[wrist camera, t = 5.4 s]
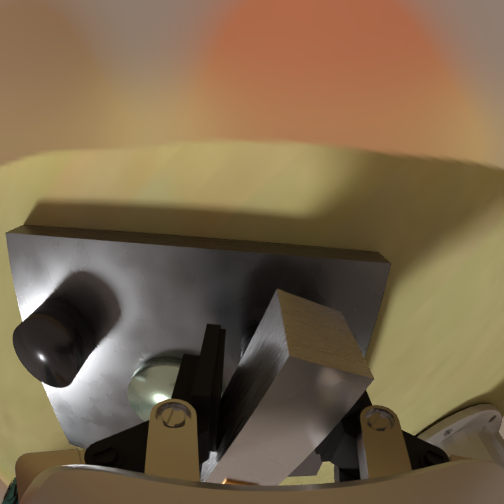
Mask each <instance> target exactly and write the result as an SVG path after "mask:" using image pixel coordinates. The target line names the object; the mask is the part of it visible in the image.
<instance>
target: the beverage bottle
mask: <svg viewBox="0 0 504 504" xmlns="http://www.w3.org/2000/svg"><path fill="white" fill-rule="evenodd" d="M13 479H14V480H13V482H12V481H11V482H12V483H11V484H10V485H11V486H10V485H9V487H10V488H8V490H7V492H6V494H5V497H4V500H3V502H2V504H19V499H18V492H17V483H16V477H15V478H13Z"/></svg>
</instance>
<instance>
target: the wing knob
mask: <svg viewBox="0 0 504 504" xmlns="http://www.w3.org/2000/svg"><path fill="white" fill-rule="evenodd" d="M373 380H374V377H373V375H372V373H371V371H370V369H369V366H368V364H367V362H366V360H365V358H364V356H363V354H362V352H361V350H360V348H359V346H358V344H357V342H356V340H355V338H354V336H353V334H352V332H351V330H350V328H349V327H348V325H347V323H346V321H345V319H344V317H343V315H342V313H341V312H340V311H337V310H334V309H331V308H329V307H326V306H323V305H320V304H317V303H315V302H312V301H309V300H306V299H304V298H301V297H298V296H296V295H293V294H290V293H287V292H285V291H282V290H279V289H276V291H275V293H274V296H273V298H272V300H271V302H270V304H269V306H268V308H267V310H266V312H265V314H264V316H263V318H262V320H261V322H260V323H257V324H254V325H252V326H250V327H249V328H248V329H247V330H246V331H245V332H244V333H243V335H242V339H241V361H240V363H239V365H238V367H237V368H236V370H235V372H234V374H233V376H232V378H231V380H230V382H229V384H228V386H227V387H226V389H225V391H224V393H223V395H222V397H221V403H220V414H219V424H218V435H217V445H216V452H210V457H209V459H208V460H207V461H205V462H204V463H202V470H201V478H200V482H209V483H220V484H234V485H260V486H277V485H279V484H280V483H281V482H282V481H283V480H284V479H285V478H286V477H287V476H288V475H289V474H290V473H291V472H292V471H293V470H294V469H295V468H297V467H298V466H299V465H300V464H301V463H302V462H303V461H304V460H305V459H306V458H307V456H308V455H309V454H310V453H311V452H312V451H313V450H314V449H315V448H316V447H317V446H318V445H319V444H320V443H321V442H322V441H323V440H324V439H325V437H326V436H327V435H328V434H329V433H330V432H331V431H332V430H333V429H334V427H335V426H336V425H337V424H338V423H339V422H340V421H341V419H342V418H343V417H344V416H345V415H346V414H347V412H348V411H349V410H350V409H351V408H352V406H353V405H354V404H355V403H356V401H357V400H358V399H359V398H360V396H361V395H362V394H363V393H364V391H365V390H366V389H367V387H368V386H369V385H370V384H371V382H372V381H373Z"/></svg>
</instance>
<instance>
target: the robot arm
mask: <svg viewBox="0 0 504 504" xmlns="http://www.w3.org/2000/svg"><path fill="white" fill-rule="evenodd" d="M225 337H226V329H221V325H217V324H207V325H206V330H205V334H204V339H203V343H202V348H201V352H200V355H192V354H184V355H183V357H182V361H181V364H180V368H179V371H178V375H177V379H176V382H175V386H174V389H173V393H172V397H171V399H166V400H163V401H160V402H158V403H157V404H155V405H154V407H153V408H152V410H151V413H150V420H148V421H145V422H143V423H141V424H138V425H136V426H134V427H131V428H129V429H127V430H124V431H122V432H119V433H117V434H114V435H112V436H109V437H107V438H104V439H102V440H99V441H96V442H95V443H93V444H91V445H90V446H89V447H88V448H87V449H86V450H85V451H78V449H68V450H59V451H49V452H35V453H27V454H23V455H22V456H20V457H19V458H18V460H17V461H16V465H15V472H16V483H17V492H18V499H19V504H504V439H503V438H502V436H501V435H500V434H499V432H498V431H499V429H500V426H501V423H502V416H501V414H500V412H499V411H498V409H497V408H496V407H495V406H494V405H491V404H480V405H476V406H472V407H469V408H466V409H464V410H461V411H459V412H457V413H455V414H453V415H451V416H449V417H447V418H445V419H444V420H442V421H440V422H438V423H437V424H435V425H433V426H432V427H430V428H429V429H427V430H426V431H424V432H423V433H421V434H420V435H419V436H417V437H415V436H413V435H411V434H409V433H407V432H405V431H403V430H401V426H400V423H399V419H398V417H397V415H396V414H395V413H394V412H393V411H392V410H390V409H389V408H387V407H384V406H379V405H373V406H372V403H371V401H370V399H369V396H368V394H367V392H366V390H365V391H364V393H363V394H362V395H361V396H360V398H359V399H358V400H357V401H356V403H355V404H354V405H353V406H352V408H351V409H350V410H349V411H348V412H347V414H346V415H345V416H344V417H343V418H342V419H341V421H340V422H339V423H338V424H337V425H336V426H335V427H334V429H333V430H332V431H331V432H330V433H329V434H328V435H327V436H326V437H325V439H324V440H323V441H322V442H321V443H320V444H319V445H318V446H317V447H316V448H315V453H316V454H320V458H321V462H325V461H330V462H331V463H333V464H334V465H335V466H334V480H335V483H325V484H311V485H286V486H260V485H234V484H220V483H209V482H200V475H199V465H200V464H202V463H204V462H205V461H207V460H208V459H209V457H210V452H216V445H217V435H218V424H219V414H220V403H221V393H222V382H223V367H224V352H225Z"/></svg>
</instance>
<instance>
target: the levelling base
mask: <svg viewBox="0 0 504 504" xmlns="http://www.w3.org/2000/svg"><path fill="white" fill-rule="evenodd" d="M6 239H7V247H8V254H9V260H10V266H11V272H12V277H13V282H14V287H15V292H16V297H17V301H18V305H19V309H20V313H21V317H22V321H23V322H22V323H21V324H20V325H19V326H17V327H16V329H15V330H14V333H13V345H14V349H15V351H16V354H17V356H18V358H19V360H20V361H21V363H22V364H23V366H24V367H25V368H26V369H27V370H28V371H29V372H30V373H31V374H32V375H33V376H34V377H35V378H36V379H38V380H39V381H41V382H42V383H43V385H44V388H45V390H46V393H47V395H48V398H49V400H50V403H51V405H52V407H53V410H54V412H55V414H56V416H57V418H58V421H59V423H60V425H61V427H62V429H63V431H64V433H65V435H66V437H67V439H68V441H69V443H70V444H72V445H75V446H78V447H81V448H84V449H87V448H88V447H89V446H90V445H91V444H93V443H95V442H96V441H99V440H102V439H104V438H107V437H109V436H112V435H114V434H117V433H119V432H122V431H124V430H127V429H129V428H131V427H134V426H136V425H138V424H141V423H143V422H145V421H148V420H150V413H151V410H152V408H153V407H154V405H155V404H157V403H158V402H160V401H163V400H166V399H171V397H172V393H173V389H174V386H175V382H176V379H177V375H178V371H179V368H180V364H181V361H182V357H183V355H184V354H192V355H200V352H201V348H202V343H203V339H204V334H205V330H206V325H207V324H217V325H221V329H226V337H225V352H224V367H223V382H222V393H221V397H222V395H223V393H224V391H225V389H226V387H227V386H228V384H229V382H230V380H231V378H232V376H233V374H234V372H235V370H236V368H237V367H238V365H239V363H240V361H241V339H242V335H243V333H244V332H245V331H246V330H247V329H248V328H249V327H250V326H252V325H254V324H257V323H260V322H261V320H262V318H263V316H264V314H265V312H266V310H267V308H268V306H269V304H270V302H271V300H272V298H273V296H274V293H275V291H276V289H279V290H282V291H285V292H287V293H290V294H293V295H296V296H298V297H301V298H304V299H306V300H309V301H312V302H315V303H317V304H320V305H323V306H326V307H329V308H331V309H334V310H337V311H340V312H341V313H342V315H343V317H344V319H345V321H346V323H347V325H348V327H349V328H350V330H351V332H352V334H353V336H354V338H355V340H356V342H357V344H358V346H359V348H360V350H361V352H362V354H363V356H364V358H365V355H366V352H367V349H368V346H369V342H370V339H371V336H372V333H373V329H374V326H375V323H376V319H377V316H378V312H379V309H380V305H381V301H382V298H383V294H384V290H385V286H386V282H387V278H388V274H389V270H390V265H391V263H390V262H389V261H388V260H387V259H385V258H384V257H383V256H382V255H381V254H380V253H379V252H371V251H360V250H349V249H338V248H326V247H314V246H303V245H291V244H279V243H267V242H254V241H242V240H229V239H216V238H203V237H190V236H177V235H163V234H150V233H136V232H121V231H107V230H92V229H77V228H61V227H46V226H29V225H22V226H20V227H17V228H15V229H13V230H11V231H9V232H6ZM321 464H322V462H321V458H320V454H316V453H315V449H314V450H313V451H312V452H311V453H310V454H309V455H308V456H307V458H306V459H305V460H304V461H303V462H302V463H301V464H300V465H299V466H298V467H297V468H295V469H294V470H293V471H292V472H291V473H290V474H289V475H288V476H287V477H291V476H313V475H317V473H318V471H319V469H320V466H321ZM201 470H202V464H200V465H199V475H200V478H201Z"/></svg>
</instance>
